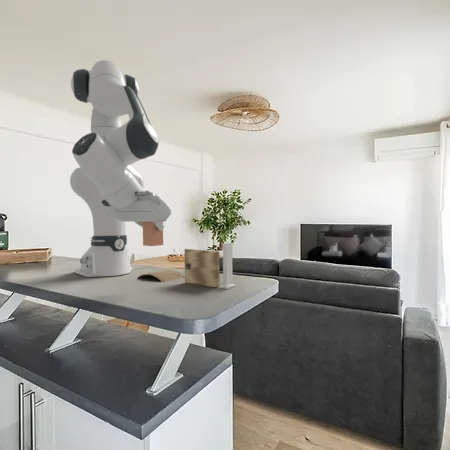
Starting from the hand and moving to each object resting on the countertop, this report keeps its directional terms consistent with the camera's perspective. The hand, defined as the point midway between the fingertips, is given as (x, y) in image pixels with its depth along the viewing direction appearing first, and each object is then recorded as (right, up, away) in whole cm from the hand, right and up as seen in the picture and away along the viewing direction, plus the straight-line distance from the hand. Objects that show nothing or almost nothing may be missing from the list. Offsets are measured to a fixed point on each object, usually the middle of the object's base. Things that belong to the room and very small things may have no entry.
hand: (154, 229), depth 90 cm
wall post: (+21, -17, +2) cm, 27 cm away
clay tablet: (-2, -18, +17) cm, 25 cm away
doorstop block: (0, -5, 0) cm, 5 cm away
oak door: (+13, -17, +5) cm, 22 cm away
